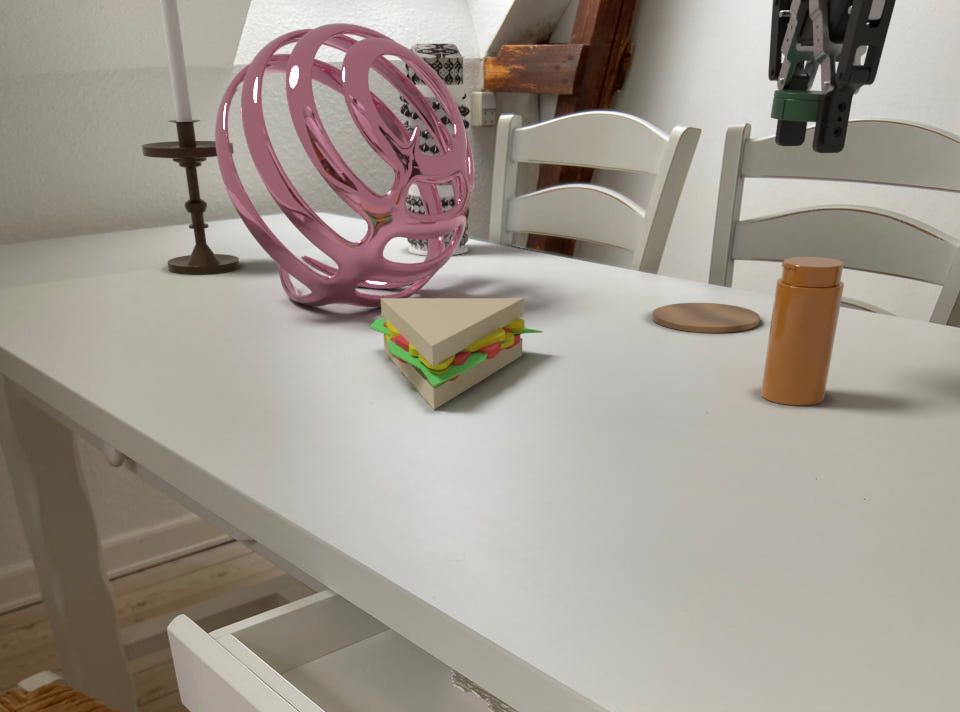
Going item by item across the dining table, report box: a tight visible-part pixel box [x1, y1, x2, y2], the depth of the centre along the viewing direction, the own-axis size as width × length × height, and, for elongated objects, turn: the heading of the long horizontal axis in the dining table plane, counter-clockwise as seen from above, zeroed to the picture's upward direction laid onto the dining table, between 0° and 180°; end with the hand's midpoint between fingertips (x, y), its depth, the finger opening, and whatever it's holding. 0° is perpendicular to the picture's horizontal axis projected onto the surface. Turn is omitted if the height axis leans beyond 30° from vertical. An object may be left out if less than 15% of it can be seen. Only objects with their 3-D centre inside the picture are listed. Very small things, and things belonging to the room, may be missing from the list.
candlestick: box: [141, 0, 241, 275], centre depth 121 cm, size 11×11×35 cm
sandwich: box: [369, 297, 543, 410], centre depth 86 cm, size 15×20×5 cm
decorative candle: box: [399, 43, 471, 256], centre depth 134 cm, size 9×9×25 cm
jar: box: [760, 256, 845, 406], centre depth 79 cm, size 5×5×10 cm
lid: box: [770, 89, 826, 123], centre depth 75 cm, size 6×6×2 cm
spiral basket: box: [214, 22, 476, 308], centre depth 108 cm, size 28×28×27 cm
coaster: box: [651, 302, 761, 334], centre depth 105 cm, size 11×11×1 cm
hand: (807, 147), depth 77 cm, fingers closed on lid, 5 cm apart
